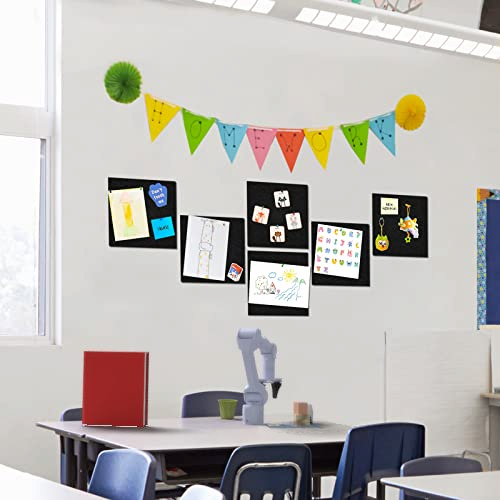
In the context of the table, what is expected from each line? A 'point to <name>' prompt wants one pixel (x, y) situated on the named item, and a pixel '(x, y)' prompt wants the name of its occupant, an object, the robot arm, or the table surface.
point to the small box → (310, 412)
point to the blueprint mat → (292, 426)
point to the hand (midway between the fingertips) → (268, 398)
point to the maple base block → (302, 420)
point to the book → (115, 388)
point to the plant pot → (227, 408)
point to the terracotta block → (300, 408)
